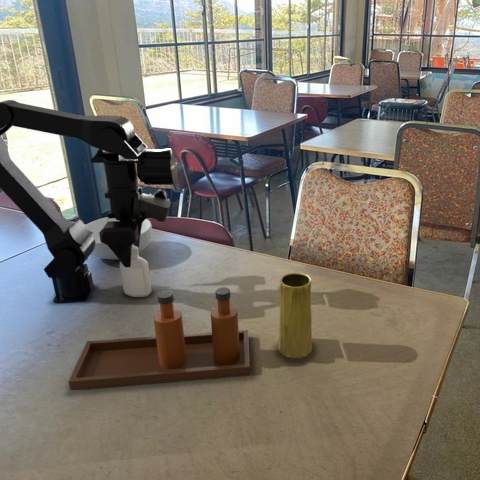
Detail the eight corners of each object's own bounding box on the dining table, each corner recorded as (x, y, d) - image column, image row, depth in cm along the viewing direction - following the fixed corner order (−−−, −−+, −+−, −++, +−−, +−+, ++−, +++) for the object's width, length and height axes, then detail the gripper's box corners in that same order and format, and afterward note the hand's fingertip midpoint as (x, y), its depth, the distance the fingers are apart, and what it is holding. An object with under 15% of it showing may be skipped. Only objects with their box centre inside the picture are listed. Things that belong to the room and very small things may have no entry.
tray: (70, 392, 74) (68, 381, 74) (89, 351, 84) (87, 341, 83) (250, 377, 79) (249, 366, 78) (248, 339, 88) (247, 329, 88)
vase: (286, 364, 82) (286, 291, 76) (272, 345, 87) (271, 275, 81) (318, 355, 85) (320, 284, 79) (303, 336, 90) (304, 268, 84)
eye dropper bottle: (135, 301, 99) (127, 249, 94) (121, 292, 103) (113, 241, 98) (154, 294, 102) (147, 242, 98) (140, 285, 106) (133, 235, 101)
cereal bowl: (95, 240, 127) (91, 215, 124) (160, 239, 129) (157, 214, 126) (72, 269, 112) (66, 241, 109) (146, 267, 113) (142, 240, 111)
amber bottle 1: (157, 369, 79) (148, 302, 74) (161, 353, 83) (152, 288, 78) (185, 367, 80) (177, 300, 74) (187, 351, 84) (180, 286, 78)
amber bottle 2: (213, 365, 80) (208, 298, 75) (214, 349, 84) (209, 285, 79) (239, 363, 81) (236, 296, 76) (239, 347, 85) (236, 283, 80)
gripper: (158, 198, 86) (167, 276, 92) (171, 170, 103) (177, 237, 109) (92, 200, 84) (105, 279, 90) (116, 171, 101) (125, 239, 107)
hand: (132, 256), depth 99 cm, fingers open, 9 cm apart
